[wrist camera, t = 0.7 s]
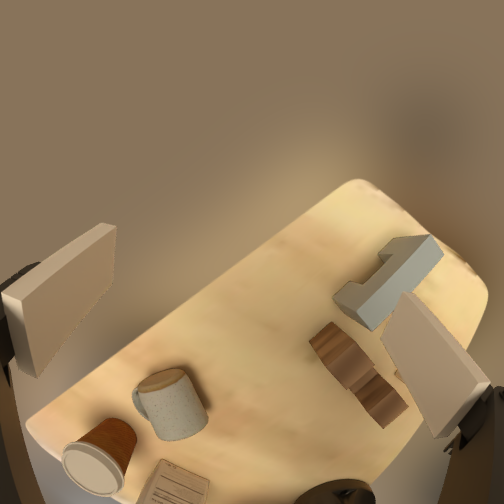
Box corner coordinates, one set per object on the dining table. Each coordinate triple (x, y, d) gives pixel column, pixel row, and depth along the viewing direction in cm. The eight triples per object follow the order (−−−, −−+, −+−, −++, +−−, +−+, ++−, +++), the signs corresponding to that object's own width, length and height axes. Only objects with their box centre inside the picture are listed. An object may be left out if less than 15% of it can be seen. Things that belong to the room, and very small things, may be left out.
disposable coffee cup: (144, 463, 39) (121, 507, 27) (93, 443, 39) (61, 480, 27) (149, 421, 39) (121, 465, 27) (93, 400, 39) (56, 435, 27)
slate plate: (405, 254, 39) (444, 254, 30) (344, 314, 39) (372, 331, 29) (393, 238, 40) (430, 234, 30) (331, 297, 39) (355, 311, 29)
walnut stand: (379, 377, 39) (408, 406, 29) (358, 395, 39) (383, 428, 29) (331, 321, 39) (355, 341, 29) (309, 341, 39) (325, 367, 29)
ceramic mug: (189, 360, 39) (175, 381, 32) (213, 409, 39) (204, 437, 32) (126, 378, 40) (103, 399, 32) (150, 423, 40) (133, 450, 32)
